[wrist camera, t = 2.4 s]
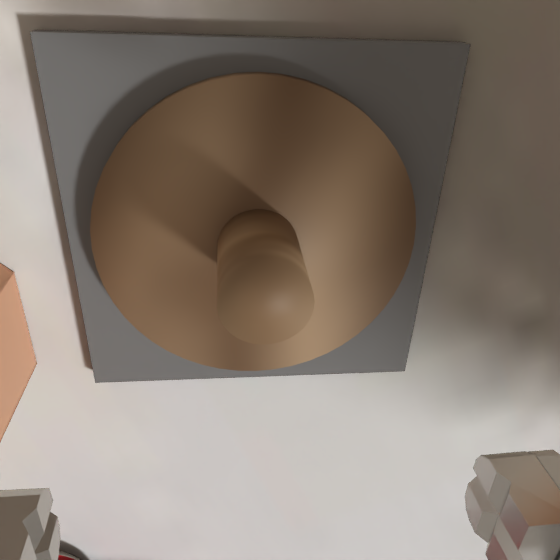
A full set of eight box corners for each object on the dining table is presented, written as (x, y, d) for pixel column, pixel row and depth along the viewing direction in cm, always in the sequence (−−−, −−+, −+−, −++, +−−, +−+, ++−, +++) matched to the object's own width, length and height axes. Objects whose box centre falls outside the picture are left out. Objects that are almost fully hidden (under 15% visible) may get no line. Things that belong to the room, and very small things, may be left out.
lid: (435, 74, 18) (499, 107, 14) (387, 353, 24) (421, 434, 20) (68, 68, 17) (19, 101, 12) (116, 364, 23) (93, 452, 19)
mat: (463, 42, 18) (470, 44, 17) (400, 362, 25) (404, 371, 24) (35, 29, 17) (29, 31, 16) (98, 373, 24) (95, 382, 23)
